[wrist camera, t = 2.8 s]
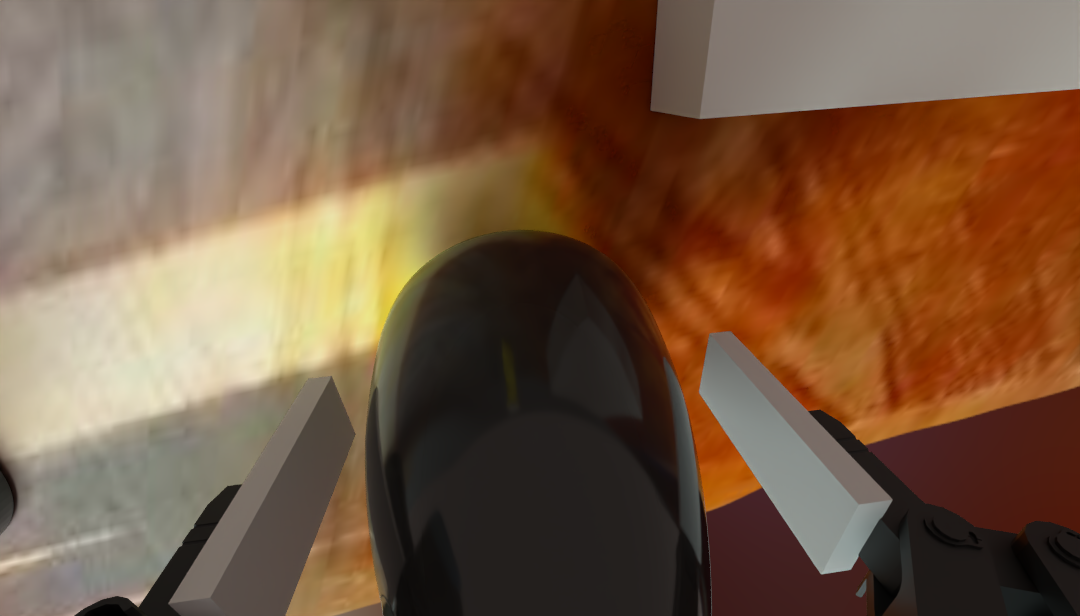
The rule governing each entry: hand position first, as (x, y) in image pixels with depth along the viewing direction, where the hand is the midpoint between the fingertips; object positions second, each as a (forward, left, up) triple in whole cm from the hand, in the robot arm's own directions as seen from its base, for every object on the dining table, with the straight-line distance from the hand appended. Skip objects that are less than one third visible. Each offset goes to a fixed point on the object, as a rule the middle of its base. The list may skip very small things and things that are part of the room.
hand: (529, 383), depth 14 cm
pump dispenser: (0, 0, -5) cm, 5 cm away
